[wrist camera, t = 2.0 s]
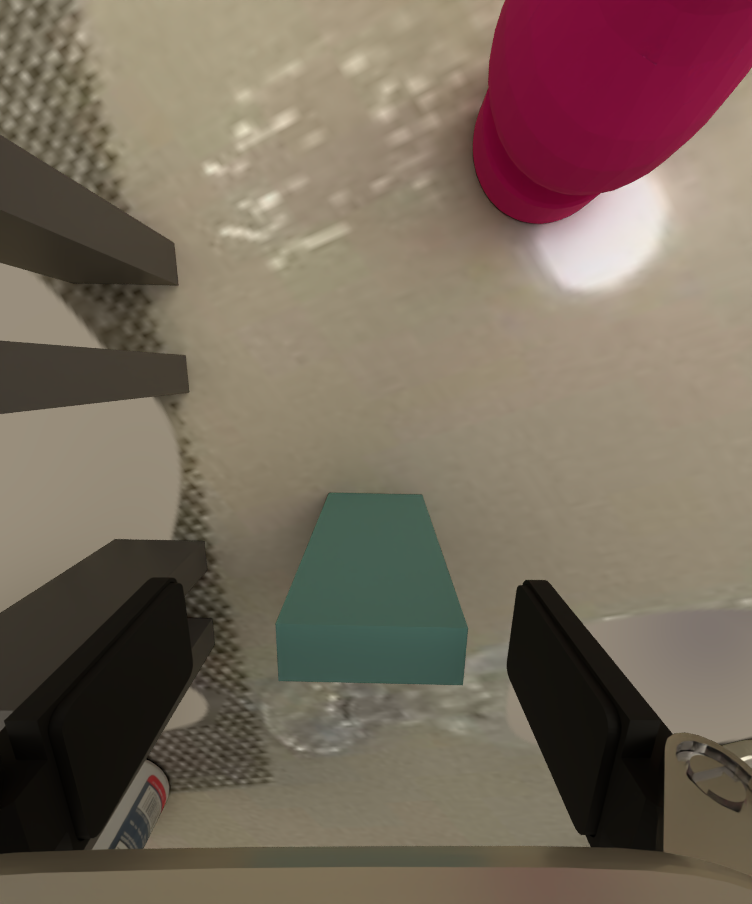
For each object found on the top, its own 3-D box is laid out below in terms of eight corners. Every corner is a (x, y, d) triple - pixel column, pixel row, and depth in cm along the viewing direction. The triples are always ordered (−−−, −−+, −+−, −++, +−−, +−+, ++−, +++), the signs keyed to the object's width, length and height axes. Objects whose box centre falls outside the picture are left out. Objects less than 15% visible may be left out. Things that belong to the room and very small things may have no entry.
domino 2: (189, 392, 18) (-44, 418, 8) (90, 390, 18) (-263, 414, 8) (185, 355, 17) (-65, 335, 8) (84, 353, 17) (-295, 331, 8)
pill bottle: (80, 788, 24) (-89, 1027, 15) (113, 739, 23) (-49, 964, 14) (151, 821, 24) (27, 1068, 16) (185, 774, 23) (72, 1010, 15)
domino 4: (420, 525, 19) (463, 685, 10) (329, 523, 19) (278, 680, 10) (421, 494, 19) (468, 628, 9) (328, 492, 19) (275, 623, 9)
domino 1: (178, 285, 17) (-109, 163, 7) (72, 283, 17) (-364, 159, 7) (174, 242, 16) (-137, 49, 6) (66, 240, 16) (-409, 44, 6)
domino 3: (207, 570, 20) (43, 760, 10) (119, 568, 20) (-127, 756, 10) (204, 541, 20) (31, 710, 10) (115, 539, 20) (-147, 707, 10)
